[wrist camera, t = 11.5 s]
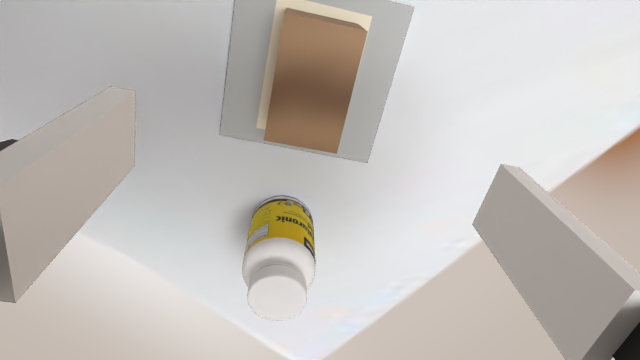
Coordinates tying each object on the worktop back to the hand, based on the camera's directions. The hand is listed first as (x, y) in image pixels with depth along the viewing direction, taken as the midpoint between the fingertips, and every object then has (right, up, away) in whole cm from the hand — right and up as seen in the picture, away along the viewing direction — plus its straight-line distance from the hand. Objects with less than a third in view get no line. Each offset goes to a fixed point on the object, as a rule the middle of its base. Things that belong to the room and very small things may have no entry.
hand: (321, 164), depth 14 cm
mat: (-1, +7, +15) cm, 17 cm away
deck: (-1, +7, +15) cm, 16 cm away
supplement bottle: (-3, -4, +21) cm, 22 cm away
